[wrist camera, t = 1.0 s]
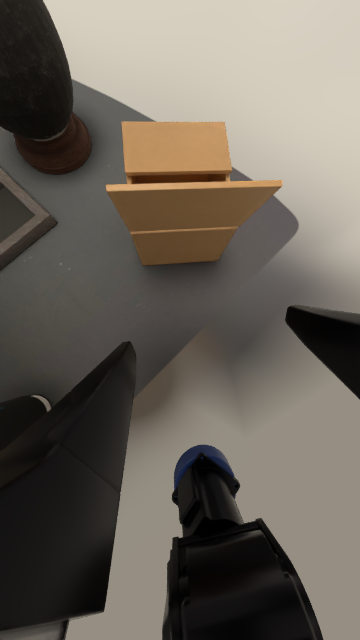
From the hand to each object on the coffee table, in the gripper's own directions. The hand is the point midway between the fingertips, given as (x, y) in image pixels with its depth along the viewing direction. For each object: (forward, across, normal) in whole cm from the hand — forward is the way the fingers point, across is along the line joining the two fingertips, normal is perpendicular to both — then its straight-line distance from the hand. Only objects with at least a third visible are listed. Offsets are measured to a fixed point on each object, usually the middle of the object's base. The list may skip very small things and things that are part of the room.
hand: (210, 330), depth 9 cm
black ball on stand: (+32, +15, -21) cm, 41 cm away
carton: (+22, -2, -6) cm, 23 cm away
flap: (+9, -1, -7) cm, 11 cm away
